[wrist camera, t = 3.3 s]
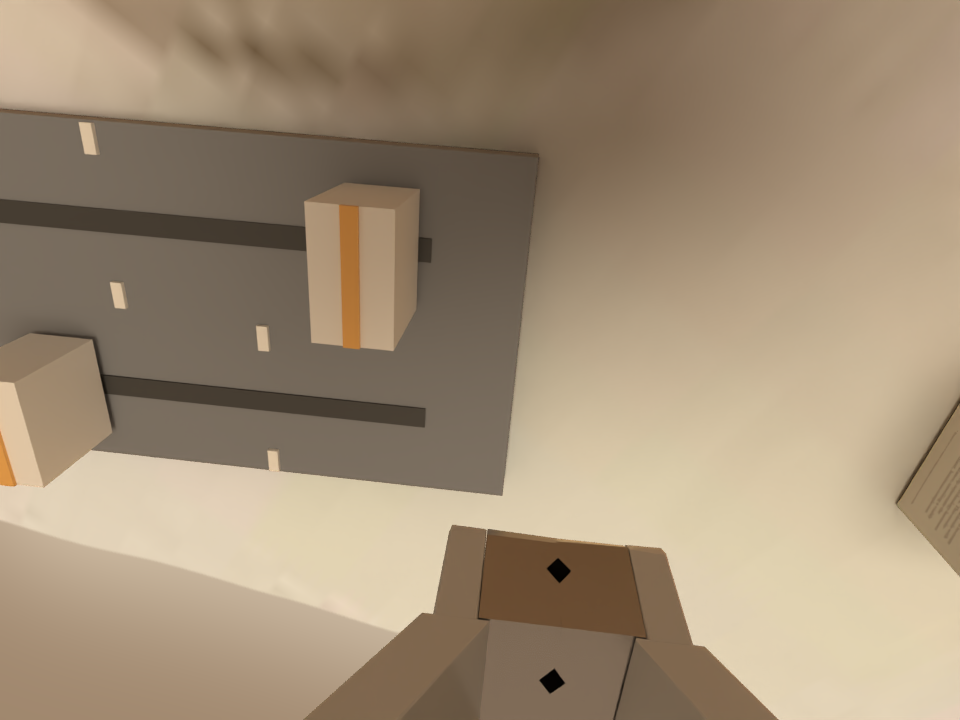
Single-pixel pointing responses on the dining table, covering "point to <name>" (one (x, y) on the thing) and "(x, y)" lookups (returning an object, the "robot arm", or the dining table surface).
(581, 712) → the robot arm
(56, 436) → the fader
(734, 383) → the dining table surface
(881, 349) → the dining table surface
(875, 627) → the dining table surface
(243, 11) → the dining table surface
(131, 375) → the console
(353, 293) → the fader
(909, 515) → the small box
